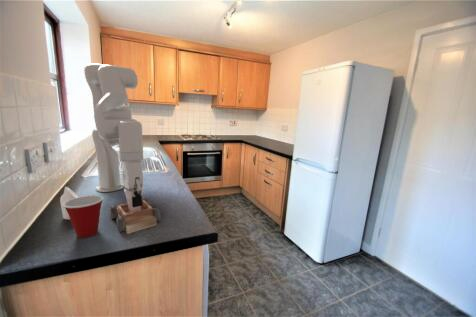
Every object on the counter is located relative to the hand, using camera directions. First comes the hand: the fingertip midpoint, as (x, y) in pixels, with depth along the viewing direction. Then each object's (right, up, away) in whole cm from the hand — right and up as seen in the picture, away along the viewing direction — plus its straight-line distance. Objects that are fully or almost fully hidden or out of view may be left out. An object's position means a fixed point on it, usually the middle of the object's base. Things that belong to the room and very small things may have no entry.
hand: (134, 202), depth 81 cm
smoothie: (0, -4, +1) cm, 4 cm away
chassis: (-1, -7, +2) cm, 7 cm away
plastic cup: (-12, -9, -8) cm, 17 cm away
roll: (-25, -6, +2) cm, 26 cm away
